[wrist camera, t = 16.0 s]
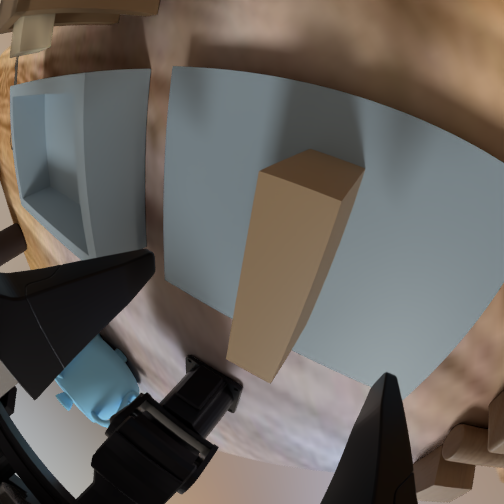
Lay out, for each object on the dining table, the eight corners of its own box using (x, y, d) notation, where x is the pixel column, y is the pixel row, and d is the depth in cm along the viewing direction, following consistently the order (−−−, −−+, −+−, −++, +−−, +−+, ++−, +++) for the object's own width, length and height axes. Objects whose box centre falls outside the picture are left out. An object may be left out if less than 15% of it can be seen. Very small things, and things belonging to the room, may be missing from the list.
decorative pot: (126, 386, 50) (83, 427, 40) (78, 322, 47) (28, 361, 37) (164, 395, 40) (109, 453, 30) (100, 314, 37) (32, 368, 27)
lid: (407, 375, 16) (386, 460, 11) (183, 265, 22) (120, 314, 17) (530, 181, 8) (599, 242, 3) (199, 67, 14) (100, 68, 9)
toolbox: (146, 246, 23) (52, 308, 16) (54, 189, 29) (-10, 221, 21) (167, -24, 11) (30, -40, 4) (55, 20, 17) (-23, 33, 9)
